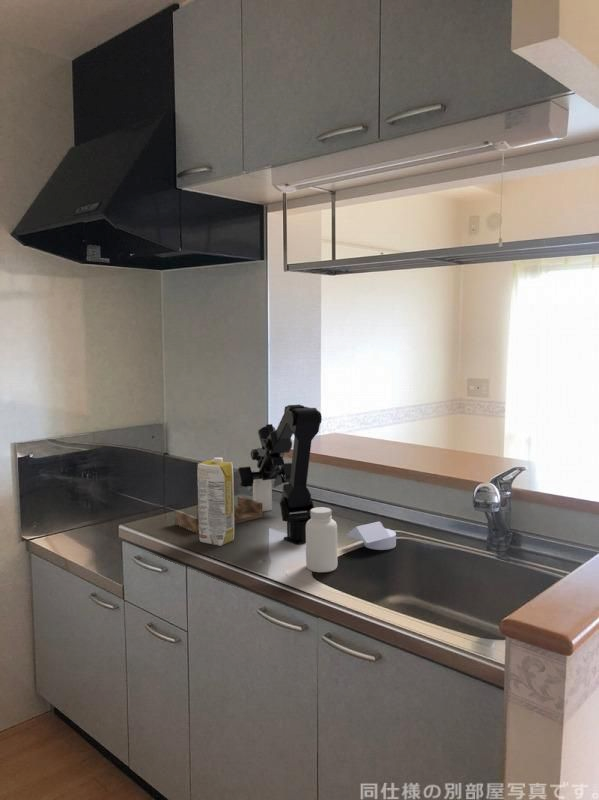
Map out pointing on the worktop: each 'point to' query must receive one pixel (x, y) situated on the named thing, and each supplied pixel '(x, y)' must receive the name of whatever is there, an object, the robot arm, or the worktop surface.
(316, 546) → the pill bottle
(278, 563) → the worktop surface
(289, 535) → the robot arm
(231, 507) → the juice carton
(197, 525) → the comb rack
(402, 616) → the worktop surface
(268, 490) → the grey piece
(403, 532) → the worktop surface
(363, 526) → the wedge on round base
